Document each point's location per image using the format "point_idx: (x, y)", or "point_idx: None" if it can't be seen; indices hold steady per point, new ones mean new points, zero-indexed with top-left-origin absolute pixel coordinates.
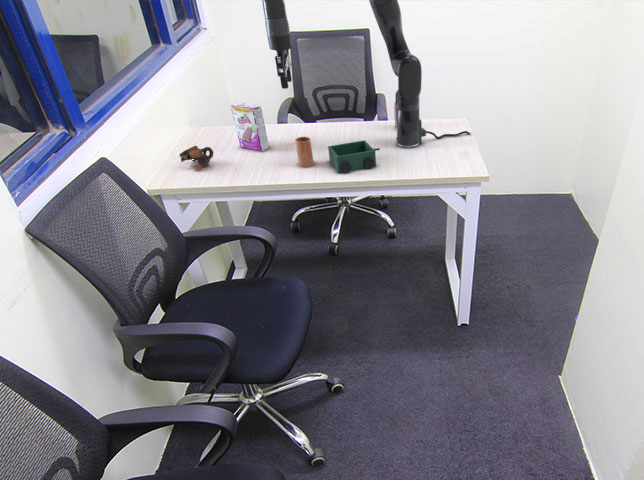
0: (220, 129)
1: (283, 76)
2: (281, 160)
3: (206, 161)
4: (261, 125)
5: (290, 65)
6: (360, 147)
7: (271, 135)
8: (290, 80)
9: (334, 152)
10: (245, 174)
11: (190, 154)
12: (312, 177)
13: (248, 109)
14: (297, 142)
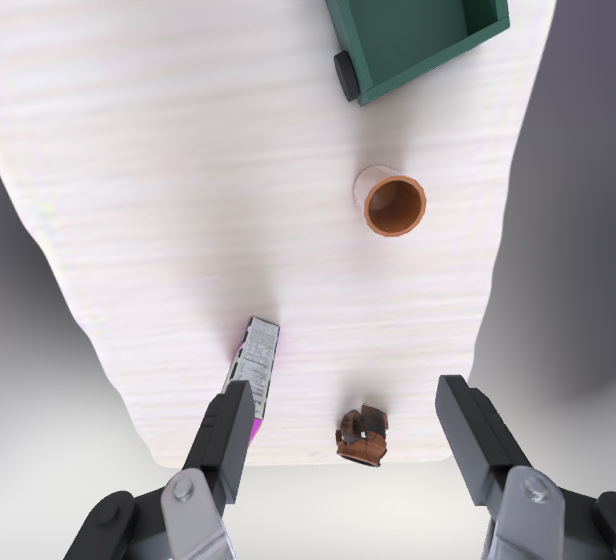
0: (155, 428)
1: (564, 497)
2: (339, 269)
3: (369, 416)
4: (251, 365)
5: (134, 505)
6: None
7: (163, 327)
8: (247, 388)
9: (448, 51)
10: (421, 332)
11: (383, 452)
12: (485, 149)
13: (256, 432)
14: (417, 223)
